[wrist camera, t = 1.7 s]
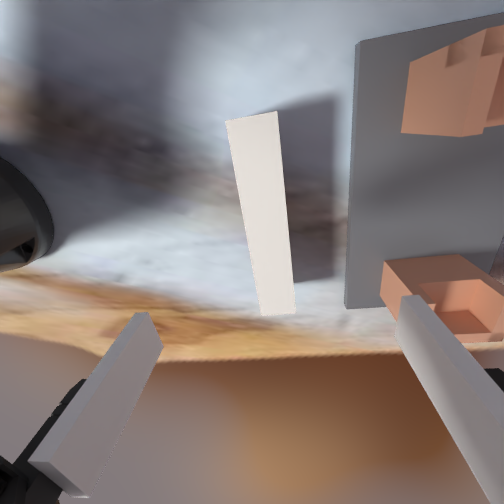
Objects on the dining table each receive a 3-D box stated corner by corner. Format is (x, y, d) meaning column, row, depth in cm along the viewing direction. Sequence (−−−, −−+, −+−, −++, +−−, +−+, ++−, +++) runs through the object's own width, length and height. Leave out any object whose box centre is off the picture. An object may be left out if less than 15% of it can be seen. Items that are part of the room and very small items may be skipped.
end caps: (344, 303, 33) (367, 360, 25) (355, 45, 20) (411, -7, 12) (471, 294, 31) (541, 353, 23) (576, 1, 18) (817, -96, 10)
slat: (262, 285, 33) (261, 315, 27) (235, 121, 23) (225, 120, 18) (292, 282, 32) (296, 313, 27) (275, 113, 23) (277, 110, 18)
